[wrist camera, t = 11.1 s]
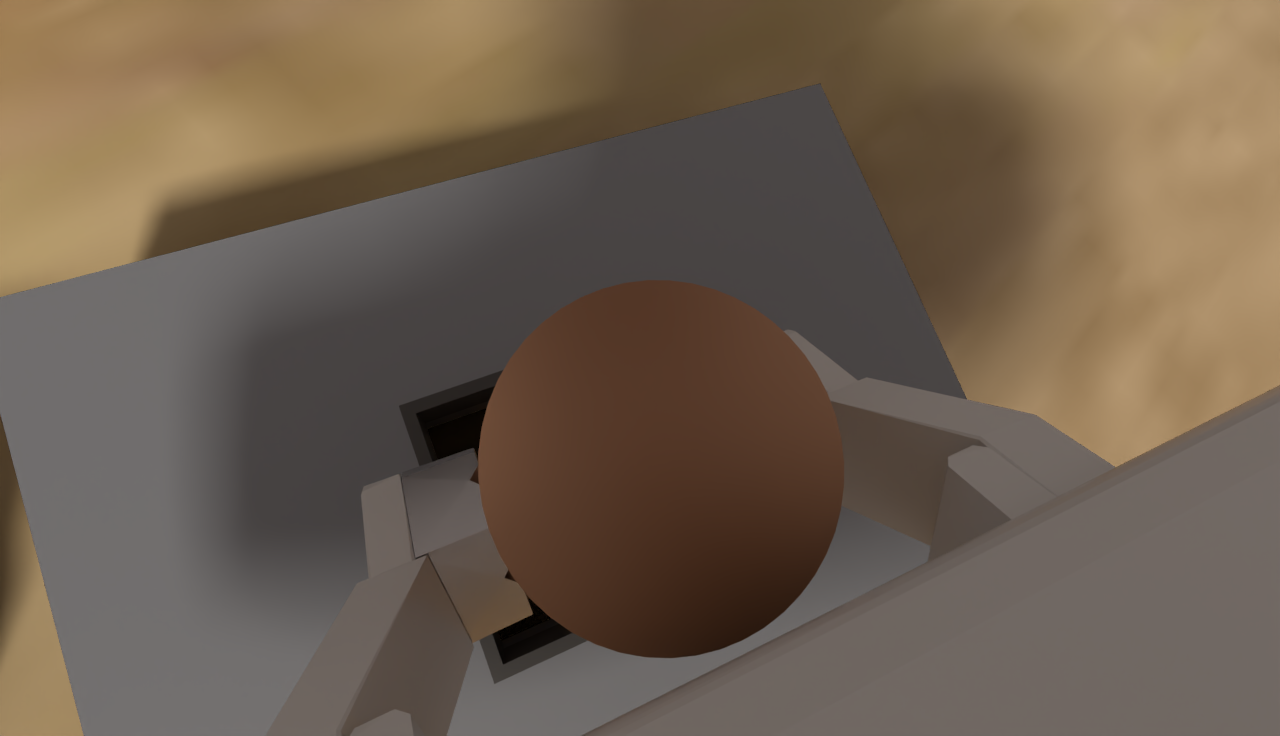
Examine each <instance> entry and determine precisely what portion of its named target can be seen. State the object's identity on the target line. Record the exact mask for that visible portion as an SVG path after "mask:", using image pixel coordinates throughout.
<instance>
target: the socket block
mask: <svg viewBox="0 0 1280 736" xmlns="http://www.w3.org/2000/svg"><path fill="white" fill-rule="evenodd" d="M645 280H671V281H679V282H686V283H693V284H697V285H700V286H704V287H708V288H712V289H715V290H718V291H720V292H722V293H725V294H727V295H730V296H732V297H735V298H737V299H739V300H740V301H742V302H744V303H746V304H748V305H749V306H751V307H753V308H755V309H756V310H758V311H759V312H760V313H762V314H763V315H764V316H766V317H767V318H769V319H770V320H771V321H773V322H774V323H775V324H776V325H777V326H778V327H779V328H780V329H781V330H783V331H785V330H793V331H796V332H797V333H798V334H800V335H801V336H802V337H803V338H805V339H806V340H807V341H809V342H810V343H811V344H812V345H814V346H815V347H816V348H817V349H819V350H820V351H821V352H822V353H824V354H825V355H826V356H828V357H829V358H830V359H831V360H833V361H834V362H835V363H836V364H838V365H839V366H840V367H841V368H843V369H844V370H845V371H847V372H848V373H849V374H850V375H852V376H853V377H854V378H855V379H857V380H861V379H864V378H866V377H867V378H872V379H876V380H881V381H885V382H890V383H894V384H899V385H903V386H908V387H912V388H917V389H921V390H926V391H930V392H935V393H939V394H944V395H948V396H953V397H957V398H962V399H966V400H967V398H966V396H965V394H964V392H963V390H962V388H961V385H960V383H959V381H958V379H957V377H956V375H955V373H954V370H953V368H952V366H951V364H950V362H949V360H948V358H947V355H946V353H945V351H944V349H943V347H942V345H941V342H940V340H939V338H938V336H937V334H936V332H935V330H934V327H933V325H932V323H931V321H930V319H929V317H928V315H927V312H926V310H925V308H924V306H923V304H922V302H921V299H920V297H919V295H918V293H917V291H916V289H915V287H914V284H913V282H912V280H911V278H910V276H909V274H908V272H907V269H906V267H905V265H904V263H903V261H902V259H901V256H900V254H899V252H898V250H897V248H896V246H895V244H894V241H893V239H892V237H891V235H890V233H889V231H888V229H887V226H886V224H885V222H884V220H883V218H882V216H881V213H880V211H879V209H878V207H877V205H876V203H875V201H874V198H873V196H872V194H871V192H870V190H869V188H868V185H867V183H866V181H865V179H864V177H863V175H862V173H861V170H860V168H859V166H858V164H857V162H856V160H855V158H854V155H853V153H852V151H851V149H850V147H849V145H848V142H847V140H846V138H845V136H844V134H843V132H842V130H841V127H840V125H839V123H838V121H837V119H836V117H835V115H834V112H833V110H832V108H831V106H830V104H829V102H828V99H827V97H826V95H825V93H824V91H823V89H822V87H821V84H816V85H812V86H809V87H805V88H801V89H797V90H793V91H789V92H786V93H782V94H778V95H774V96H770V97H766V98H763V99H759V100H755V101H751V102H747V103H743V104H740V105H736V106H732V107H728V108H724V109H720V110H717V111H713V112H709V113H705V114H701V115H697V116H694V117H690V118H686V119H682V120H678V121H674V122H671V123H667V124H663V125H659V126H655V127H651V128H648V129H644V130H640V131H636V132H632V133H628V134H625V135H621V136H617V137H613V138H609V139H605V140H602V141H598V142H594V143H590V144H586V145H582V146H579V147H575V148H571V149H567V150H563V151H559V152H556V153H552V154H548V155H544V156H540V157H536V158H533V159H529V160H525V161H521V162H517V163H513V164H510V165H506V166H502V167H498V168H494V169H490V170H487V171H483V172H479V173H475V174H471V175H467V176H464V177H460V178H456V179H452V180H448V181H444V182H441V183H437V184H433V185H429V186H425V187H421V188H418V189H414V190H410V191H406V192H402V193H398V194H395V195H391V196H387V197H383V198H379V199H375V200H372V201H368V202H364V203H360V204H356V205H352V206H349V207H345V208H341V209H337V210H333V211H329V212H326V213H322V214H318V215H314V216H310V217H306V218H303V219H299V220H295V221H291V222H287V223H283V224H280V225H276V226H272V227H268V228H264V229H260V230H257V231H253V232H249V233H245V234H241V235H237V236H234V237H230V238H226V239H222V240H218V241H214V242H211V243H207V244H203V245H199V246H195V247H191V248H188V249H184V250H180V251H176V252H172V253H168V254H165V255H161V256H157V257H153V258H149V259H145V260H142V261H138V262H134V263H130V264H126V265H122V266H119V267H115V268H111V269H107V270H103V271H99V272H96V273H92V274H88V275H84V276H80V277H76V278H73V279H69V280H65V281H61V282H57V283H53V284H50V285H46V286H42V287H38V288H34V289H30V290H27V291H23V292H19V293H15V294H11V295H7V296H4V297H0V414H1V418H2V422H3V426H4V430H5V434H6V438H7V441H8V445H9V449H10V453H11V457H12V461H13V465H14V468H15V472H16V476H17V480H18V484H19V488H20V491H21V495H22V499H23V503H24V507H25V511H26V515H27V518H28V522H29V526H30V530H31V534H32V538H33V542H34V545H35V549H36V553H37V557H38V561H39V565H40V568H41V572H42V576H43V580H44V584H45V588H46V592H47V595H48V599H49V603H50V607H51V611H52V615H53V619H54V622H55V626H56V630H57V634H58V638H59V642H60V645H61V649H62V653H63V657H64V661H65V665H66V669H67V672H68V676H69V680H70V684H71V688H72V692H73V696H74V699H75V703H76V707H77V711H78V715H79V719H80V722H81V726H82V730H83V734H84V736H266V734H267V732H268V731H269V729H270V727H271V726H272V724H273V722H274V721H275V719H276V717H277V716H278V714H279V712H280V711H281V709H282V707H283V706H284V704H285V702H286V701H287V699H288V697H289V696H290V694H291V692H292V691H293V689H294V687H295V686H296V684H297V682H298V681H299V679H300V677H301V676H302V674H303V672H304V671H305V669H306V667H307V666H308V664H309V662H310V661H311V659H312V657H313V656H314V654H315V652H316V651H317V649H318V647H319V646H320V644H321V642H322V641H323V639H324V637H325V636H326V634H327V632H328V631H329V629H330V627H331V626H332V624H333V622H334V621H335V619H336V617H337V616H338V614H339V612H340V611H341V609H342V607H343V606H344V604H345V602H346V601H347V599H348V597H349V596H350V594H351V592H352V591H353V589H354V587H355V586H356V584H357V583H359V582H361V581H364V580H366V579H369V577H368V566H367V555H366V545H365V534H364V523H363V512H362V501H361V493H362V490H363V487H364V486H366V485H369V484H372V483H375V482H377V481H380V480H383V479H386V478H389V477H391V476H394V475H397V474H402V472H404V471H407V470H410V469H413V468H416V467H419V466H422V465H425V464H428V463H430V462H433V461H436V460H438V458H437V455H436V452H435V449H434V447H433V444H432V441H431V438H430V435H429V432H428V429H429V428H432V427H435V426H438V425H440V424H443V423H446V422H449V421H452V420H455V419H457V418H460V417H463V416H466V415H469V414H471V413H474V412H477V411H480V410H483V409H486V408H487V405H488V402H489V400H490V397H491V395H492V393H493V390H494V388H495V385H496V383H497V381H498V379H499V377H500V375H501V374H502V372H503V370H504V368H505V367H506V365H507V363H508V362H509V360H510V358H511V357H512V356H513V354H514V353H515V352H516V351H517V349H518V348H519V347H520V345H521V344H522V343H523V341H524V340H525V339H526V338H527V337H528V336H529V335H530V334H531V333H532V332H533V331H534V330H535V329H536V328H537V327H538V326H539V325H540V324H541V323H542V322H544V321H545V320H546V319H548V318H549V317H550V316H552V315H553V314H554V313H556V312H557V311H558V310H560V309H561V308H563V307H565V306H566V305H568V304H570V303H572V302H573V301H575V300H577V299H579V298H581V297H583V296H585V295H588V294H590V293H593V292H595V291H598V290H600V289H603V288H607V287H611V286H615V285H619V284H622V283H628V282H636V281H645ZM930 547H931V546H929V545H927V544H925V543H923V542H921V541H918V540H916V539H914V538H912V537H909V536H907V535H905V534H903V533H901V532H898V531H896V530H894V529H892V528H890V527H887V526H885V525H883V524H881V523H879V522H876V521H874V520H872V519H870V518H868V517H865V516H863V515H861V514H859V513H856V512H854V511H852V510H850V509H848V508H845V507H843V506H841V511H840V515H839V519H838V523H837V527H836V531H835V534H834V536H833V539H832V542H831V544H830V547H829V549H828V552H827V554H826V556H825V558H824V560H823V562H822V563H821V565H820V567H819V569H818V571H817V573H816V574H815V576H814V577H813V579H812V580H811V581H810V583H809V584H808V586H807V587H806V588H805V590H804V591H803V592H802V594H801V595H800V596H799V597H798V598H797V599H796V600H795V601H794V602H793V603H792V604H791V605H790V606H789V608H788V609H787V610H786V611H785V612H784V613H782V614H781V615H780V616H779V617H777V618H776V619H775V620H774V621H772V622H771V623H770V624H769V625H767V626H766V627H765V628H763V629H761V630H760V631H758V632H756V633H755V634H753V635H751V636H749V637H748V638H746V639H744V640H742V641H740V642H738V643H735V644H733V645H730V646H728V647H725V648H723V649H720V650H717V651H713V652H709V653H705V654H701V655H697V656H689V657H679V658H649V657H641V656H635V655H630V654H624V653H619V652H616V651H613V650H611V649H608V648H605V647H602V646H599V645H596V644H594V643H592V642H590V641H588V640H586V639H584V638H582V637H580V636H578V635H576V634H574V633H572V632H570V631H569V630H568V629H566V628H565V627H563V626H562V625H560V624H559V623H558V622H556V621H555V620H553V619H552V618H551V619H549V620H547V621H545V622H542V623H540V624H538V625H536V626H534V627H531V628H529V629H527V630H525V631H522V632H520V633H518V634H516V635H513V636H511V637H509V638H507V639H505V640H502V641H501V639H500V636H499V633H498V631H497V632H495V633H493V634H491V635H488V636H486V637H484V638H482V639H480V640H478V641H476V642H474V643H472V644H473V646H474V648H473V651H472V654H471V658H470V661H469V664H468V668H467V671H466V674H465V677H464V681H463V684H462V687H461V690H460V694H459V697H458V700H457V704H456V707H455V710H454V713H453V717H452V720H451V723H450V726H449V730H448V733H447V736H581V735H583V734H585V733H587V732H589V731H591V730H593V729H595V728H597V727H599V726H601V725H603V724H605V723H607V722H609V721H611V720H613V719H615V718H617V717H619V716H621V715H623V714H625V713H627V712H629V711H631V710H633V709H635V708H637V707H639V706H641V705H643V704H645V703H647V702H649V701H651V700H653V699H655V698H657V697H659V696H661V695H663V694H665V693H667V692H669V691H671V690H673V689H675V688H677V687H679V686H681V685H683V684H685V683H687V682H689V681H691V680H693V679H695V678H697V677H699V676H701V675H703V674H705V673H707V672H709V671H711V670H713V669H715V668H717V667H719V666H721V665H723V664H725V663H727V662H729V661H731V660H733V659H735V658H737V657H739V656H741V655H743V654H745V653H747V652H749V651H751V650H753V649H755V648H757V647H759V646H761V645H763V644H765V643H767V642H769V641H771V640H773V639H775V638H777V637H779V636H781V635H783V634H785V633H787V632H789V631H791V630H793V629H795V628H797V627H799V626H801V625H803V624H805V623H807V622H809V621H811V620H813V619H815V618H817V617H819V616H821V615H823V614H825V613H827V612H829V611H831V610H833V609H835V608H837V607H839V606H841V605H843V604H845V603H847V602H849V601H851V600H853V599H855V598H857V597H859V596H861V595H863V594H865V593H867V592H869V591H871V590H872V589H874V588H876V587H878V586H880V585H882V584H884V583H886V582H888V581H890V580H892V579H894V578H896V577H898V576H900V575H902V574H904V573H906V572H908V571H910V570H912V569H914V568H916V567H918V566H920V565H922V564H924V563H926V562H928V557H929V552H930Z"/></svg>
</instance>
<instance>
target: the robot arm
mask: <svg viewBox="0 0 1280 736" xmlns="http://www.w3.org/2000/svg"><path fill="white" fill-rule="evenodd" d="M784 332H785V333H786V334H787V335H788V336H789V337H790V338H791V339H792V340H793V341H794V343H795V344H796V345H797V346H798V347H799V349H800V350H801V351H802V352H803V353H804V354H805V356H806V357H807V359H808V360H809V362H810V363H811V365H812V366H813V368H814V369H815V371H816V372H817V374H818V376H819V378H820V380H821V382H822V384H823V386H824V388H825V390H826V392H827V393H828V396H829V399H830V401H831V404H832V407H833V409H834V412H835V415H836V418H837V423H838V427H839V431H840V435H841V440H842V448H843V457H844V490H843V498H842V506H843V507H845V508H848V509H850V510H852V511H854V512H856V513H859V514H861V515H863V516H865V517H868V518H870V519H872V520H874V521H876V522H879V523H881V524H883V525H885V526H887V527H890V528H892V529H894V530H896V531H898V532H901V533H903V534H905V535H907V536H909V537H912V538H914V539H916V540H918V541H921V542H923V543H925V544H927V545H929V546H931V547H930V552H929V557H928V562H926V563H924V564H922V565H920V566H918V567H916V568H914V569H912V570H910V571H908V572H906V573H904V574H902V575H900V576H898V577H896V578H894V579H892V580H890V581H888V582H886V583H884V584H882V585H880V586H878V587H876V588H874V589H872V590H871V591H869V592H867V593H865V594H863V595H861V596H859V597H857V598H855V599H853V600H851V601H849V602H847V603H845V604H843V605H841V606H839V607H837V608H835V609H833V610H831V611H829V612H827V613H825V614H823V615H821V616H819V617H817V618H815V619H813V620H811V621H809V622H807V623H805V624H803V625H801V626H799V627H797V628H795V629H793V630H791V631H789V632H787V633H785V634H783V635H781V636H779V637H777V638H775V639H773V640H771V641H769V642H767V643H765V644H763V645H761V646H759V647H757V648H755V649H753V650H751V651H749V652H747V653H745V654H743V655H741V656H739V657H737V658H735V659H733V660H731V661H729V662H727V663H725V664H723V665H721V666H719V667H717V668H715V669H713V670H711V671H709V672H707V673H705V674H703V675H701V676H699V677H697V678H695V679H693V680H691V681H689V682H687V683H685V684H683V685H681V686H679V687H677V688H675V689H673V690H671V691H669V692H667V693H665V694H663V695H661V696H659V697H657V698H655V699H653V700H651V701H649V702H647V703H645V704H643V705H641V706H639V707H637V708H635V709H633V710H631V711H629V712H627V713H625V714H623V715H621V716H619V717H617V718H615V719H613V720H611V721H609V722H607V723H605V724H603V725H601V726H599V727H597V728H595V729H593V730H591V731H589V732H587V733H585V734H583V735H581V736H1280V385H1279V386H1277V387H1275V388H1273V389H1271V390H1269V391H1267V392H1265V393H1263V394H1261V395H1259V396H1257V397H1255V398H1253V399H1251V400H1249V401H1247V402H1245V403H1243V404H1241V405H1239V406H1237V407H1235V408H1233V409H1231V410H1229V411H1227V412H1225V413H1223V414H1221V415H1219V416H1217V417H1215V418H1213V419H1211V420H1209V421H1207V422H1205V423H1203V424H1201V425H1199V426H1197V427H1195V428H1193V429H1191V430H1189V431H1187V432H1185V433H1183V434H1181V435H1179V436H1177V437H1175V438H1173V439H1171V440H1169V441H1167V442H1165V443H1163V444H1161V445H1159V446H1157V447H1155V448H1153V449H1151V450H1149V451H1147V452H1145V453H1143V454H1141V455H1139V456H1137V457H1135V458H1133V459H1131V460H1129V461H1127V462H1125V463H1123V464H1121V465H1119V466H1117V467H1114V466H1113V465H1111V464H1110V463H1108V462H1107V461H1105V460H1104V459H1102V458H1101V457H1099V456H1098V455H1096V454H1095V453H1093V452H1091V451H1090V450H1088V449H1087V448H1085V447H1084V446H1082V445H1081V444H1079V443H1078V442H1076V441H1075V440H1073V439H1072V438H1070V437H1069V436H1067V435H1065V434H1064V433H1062V432H1061V431H1059V430H1058V429H1056V428H1055V427H1053V426H1052V425H1050V424H1049V423H1047V422H1046V421H1044V420H1043V419H1041V418H1039V417H1038V416H1036V415H1034V414H1029V413H1025V412H1020V411H1016V410H1011V409H1007V408H1002V407H998V406H993V405H989V404H984V403H980V402H975V401H971V400H966V399H962V398H957V397H953V396H948V395H944V394H939V393H935V392H930V391H926V390H921V389H917V388H912V387H908V386H903V385H899V384H894V383H890V382H885V381H881V380H876V379H872V378H867V377H866V378H864V379H861V380H857V379H855V378H854V377H853V376H852V375H850V374H849V373H848V372H847V371H845V370H844V369H843V368H841V367H840V366H839V365H838V364H836V363H835V362H834V361H833V360H831V359H830V358H829V357H828V356H826V355H825V354H824V353H822V352H821V351H820V350H819V349H817V348H816V347H815V346H814V345H812V344H811V343H810V342H809V341H807V340H806V339H805V338H803V337H802V336H801V335H800V334H798V333H797V332H796V331H793V330H785V331H784ZM361 501H362V512H363V523H364V534H365V545H366V555H367V566H368V577H369V579H366V580H364V581H361V582H359V583H357V584H356V586H355V587H354V589H353V591H352V592H351V594H350V596H349V597H348V599H347V601H346V602H345V604H344V606H343V607H342V609H341V611H340V612H339V614H338V616H337V617H336V619H335V621H334V622H333V624H332V626H331V627H330V629H329V631H328V632H327V634H326V636H325V637H324V639H323V641H322V642H321V644H320V646H319V647H318V649H317V651H316V652H315V654H314V656H313V657H312V659H311V661H310V662H309V664H308V666H307V667H306V669H305V671H304V672H303V674H302V676H301V677H300V679H299V681H298V682H297V684H296V686H295V687H294V689H293V691H292V692H291V694H290V696H289V697H288V699H287V701H286V702H285V704H284V706H283V707H282V709H281V711H280V712H279V714H278V716H277V717H276V719H275V721H274V722H273V724H272V726H271V727H270V729H269V731H268V732H267V734H266V736H447V733H448V730H449V726H450V723H451V720H452V717H453V713H454V710H455V707H456V704H457V700H458V697H459V694H460V690H461V687H462V684H463V681H464V677H465V674H466V671H467V668H468V664H469V661H470V658H471V654H472V651H473V648H474V646H473V644H472V643H474V642H476V641H478V640H480V639H482V638H484V637H486V636H488V635H491V634H493V633H495V632H497V631H499V630H501V629H503V628H505V627H507V626H509V625H512V624H514V623H516V622H518V621H520V620H522V619H524V618H526V617H528V616H531V615H533V612H532V609H531V606H530V603H529V600H528V597H527V594H526V593H525V592H524V590H523V589H522V588H521V587H520V586H519V584H518V583H517V582H516V581H515V579H514V578H513V576H512V575H511V573H510V571H509V570H508V568H507V566H506V565H505V563H504V562H503V560H502V558H501V557H500V555H499V552H498V550H497V548H496V545H495V543H494V541H493V539H492V536H491V534H490V532H489V528H488V525H487V521H486V518H485V514H484V511H483V507H482V501H481V494H480V487H479V480H478V457H477V455H476V452H475V450H474V448H471V449H468V450H465V451H462V452H459V453H456V454H454V455H451V456H448V457H445V458H442V459H439V460H436V461H433V462H430V463H428V464H425V465H422V466H419V467H416V468H413V469H410V470H407V471H404V472H402V474H397V475H394V476H391V477H389V478H386V479H383V480H380V481H377V482H375V483H372V484H369V485H366V486H364V487H363V490H362V493H361Z"/></svg>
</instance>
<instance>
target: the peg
mask: <svg viewBox="0 0 1280 736" xmlns="http://www.w3.org/2000/svg"><path fill="white" fill-rule="evenodd" d="M478 480H479V487H480V494H481V501H482V507H483V511H484V514H485V518H486V521H487V525H488V528H489V532H490V534H491V536H492V539H493V541H494V543H495V545H496V548H497V550H498V552H499V555H500V557H501V558H502V560H503V562H504V563H505V565H506V566H507V568H508V570H509V571H510V573H511V575H512V576H513V578H514V579H515V581H516V582H517V583H518V584H519V586H520V587H521V588H522V589H523V590H524V592H525V593H526V594H527V595H528V597H529V598H530V599H531V600H532V601H533V602H534V603H535V604H536V605H537V606H538V607H540V608H541V609H542V610H543V611H544V612H545V613H546V614H547V615H548V616H549V617H550V618H552V619H553V620H555V621H556V622H558V623H559V624H560V625H562V626H563V627H565V628H566V629H568V630H569V631H570V632H572V633H574V634H576V635H578V636H580V637H582V638H584V639H586V640H588V641H590V642H592V643H594V644H596V645H599V646H602V647H605V648H608V649H611V650H613V651H616V652H619V653H624V654H630V655H635V656H641V657H649V658H679V657H689V656H697V655H701V654H705V653H709V652H713V651H717V650H720V649H723V648H725V647H728V646H730V645H733V644H735V643H738V642H740V641H742V640H744V639H746V638H748V637H749V636H751V635H753V634H755V633H756V632H758V631H760V630H761V629H763V628H765V627H766V626H767V625H769V624H770V623H771V622H772V621H774V620H775V619H776V618H777V617H779V616H780V615H781V614H782V613H784V612H785V611H786V610H787V609H788V608H789V606H790V605H791V604H792V603H793V602H794V601H795V600H796V599H797V598H798V597H799V596H800V595H801V594H802V592H803V591H804V590H805V588H806V587H807V586H808V584H809V583H810V581H811V580H812V579H813V577H814V576H815V574H816V573H817V571H818V569H819V567H820V565H821V563H822V562H823V560H824V558H825V556H826V554H827V552H828V549H829V547H830V544H831V542H832V539H833V536H834V534H835V531H836V527H837V523H838V519H839V515H840V511H841V506H842V498H843V490H844V457H843V448H842V440H841V435H840V431H839V427H838V423H837V418H836V415H835V412H834V409H833V407H832V404H831V401H830V399H829V396H828V393H827V392H826V390H825V388H824V386H823V384H822V382H821V380H820V378H819V376H818V374H817V372H816V371H815V369H814V368H813V366H812V365H811V363H810V362H809V360H808V359H807V357H806V356H805V354H804V353H803V352H802V351H801V350H800V349H799V347H798V346H797V345H796V344H795V343H794V341H793V340H792V339H791V338H790V337H789V336H788V335H787V334H786V333H785V332H784V331H783V330H781V329H780V328H779V327H778V326H777V325H776V324H775V323H774V322H773V321H771V320H770V319H769V318H767V317H766V316H764V315H763V314H762V313H760V312H759V311H758V310H756V309H755V308H753V307H751V306H749V305H748V304H746V303H744V302H742V301H740V300H739V299H737V298H735V297H732V296H730V295H727V294H725V293H722V292H720V291H718V290H715V289H712V288H708V287H704V286H700V285H697V284H693V283H686V282H679V281H671V280H645V281H636V282H628V283H622V284H619V285H615V286H611V287H607V288H603V289H600V290H598V291H595V292H593V293H590V294H588V295H585V296H583V297H581V298H579V299H577V300H575V301H573V302H572V303H570V304H568V305H566V306H565V307H563V308H561V309H560V310H558V311H557V312H556V313H554V314H553V315H552V316H550V317H549V318H548V319H546V320H545V321H544V322H542V323H541V324H540V325H539V326H538V327H537V328H536V329H535V330H534V331H533V332H532V333H531V334H530V335H529V336H528V337H527V338H526V339H525V340H524V341H523V343H522V344H521V345H520V347H519V348H518V349H517V351H516V352H515V353H514V354H513V356H512V357H511V358H510V360H509V362H508V363H507V365H506V367H505V368H504V370H503V372H502V374H501V375H500V377H499V379H498V381H497V383H496V385H495V388H494V390H493V393H492V395H491V397H490V400H489V402H488V405H487V409H486V413H485V417H484V420H483V424H482V428H481V436H480V444H479V452H478Z"/></svg>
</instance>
